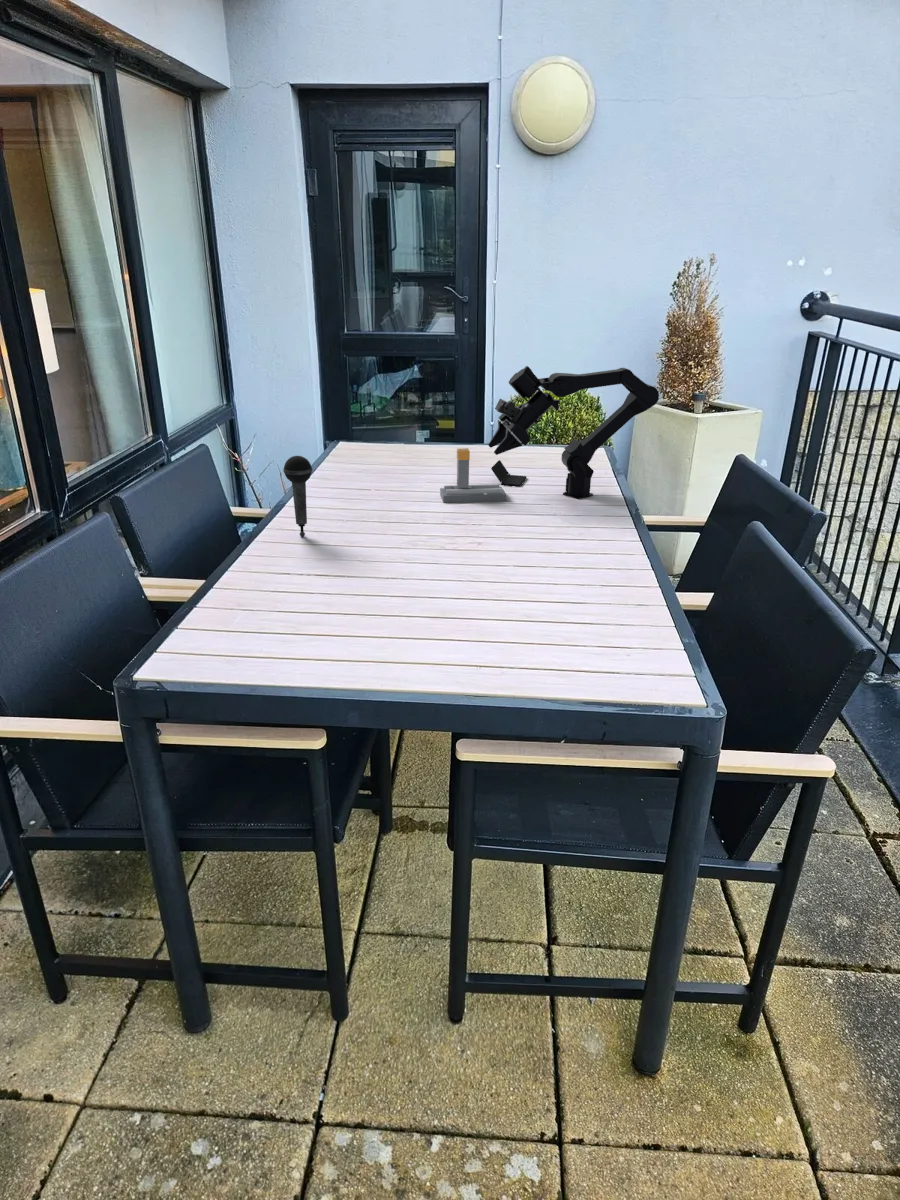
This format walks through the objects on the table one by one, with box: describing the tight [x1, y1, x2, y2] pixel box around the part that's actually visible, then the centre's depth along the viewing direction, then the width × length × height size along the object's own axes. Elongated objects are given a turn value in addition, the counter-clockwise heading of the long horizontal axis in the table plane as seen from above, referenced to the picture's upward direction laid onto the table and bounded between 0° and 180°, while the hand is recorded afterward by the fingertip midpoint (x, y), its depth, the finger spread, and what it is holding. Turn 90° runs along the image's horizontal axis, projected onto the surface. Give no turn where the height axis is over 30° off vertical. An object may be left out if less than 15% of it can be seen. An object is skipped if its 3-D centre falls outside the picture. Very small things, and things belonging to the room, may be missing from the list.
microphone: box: [282, 455, 313, 538], centre depth 189 cm, size 7×7×20 cm
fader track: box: [439, 483, 507, 504], centre depth 225 cm, size 18×8×3 cm, turn 97°
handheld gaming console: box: [490, 459, 527, 488], centre depth 242 cm, size 12×7×10 cm
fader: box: [453, 448, 472, 489], centre depth 222 cm, size 5×3×12 cm, turn 97°
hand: (492, 450), depth 221 cm, fingers open, 9 cm apart
